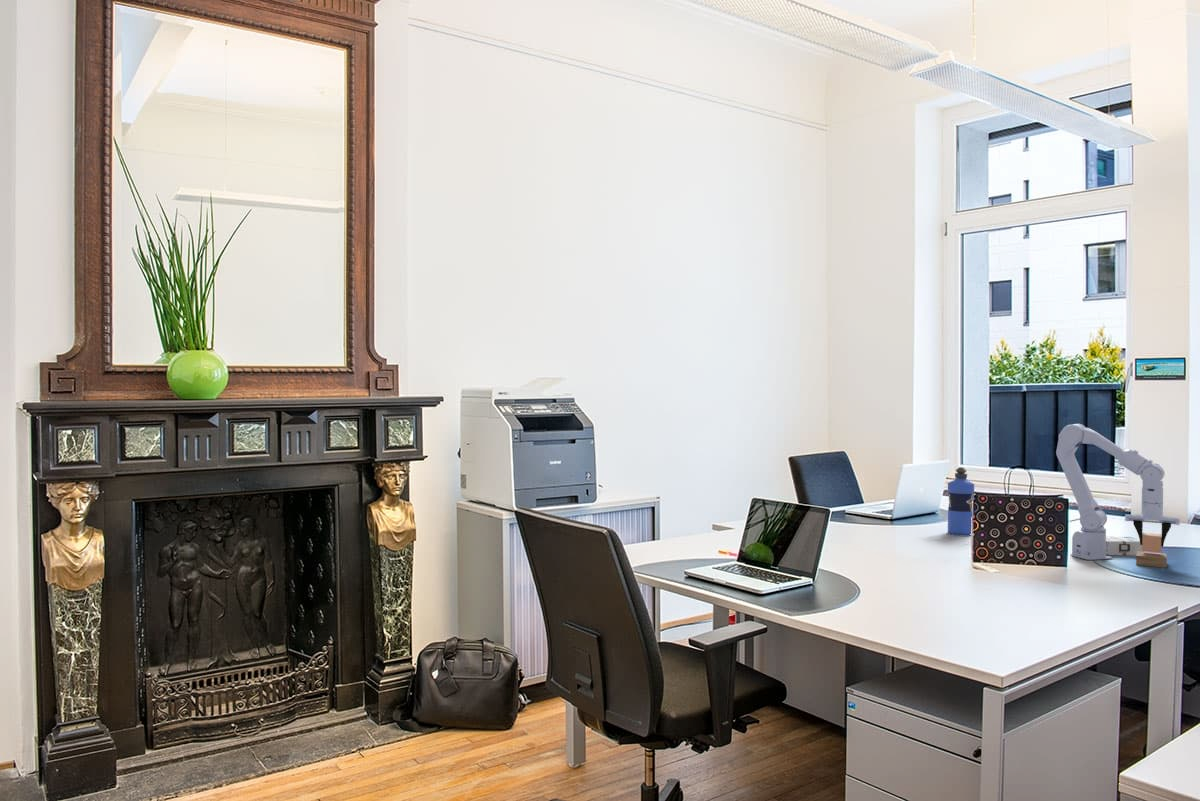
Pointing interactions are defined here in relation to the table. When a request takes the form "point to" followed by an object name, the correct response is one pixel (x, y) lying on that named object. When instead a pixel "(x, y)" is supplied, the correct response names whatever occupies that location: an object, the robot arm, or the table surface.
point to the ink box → (1122, 546)
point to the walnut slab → (1151, 559)
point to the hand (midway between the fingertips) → (1151, 545)
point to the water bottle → (960, 504)
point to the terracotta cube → (1151, 542)
